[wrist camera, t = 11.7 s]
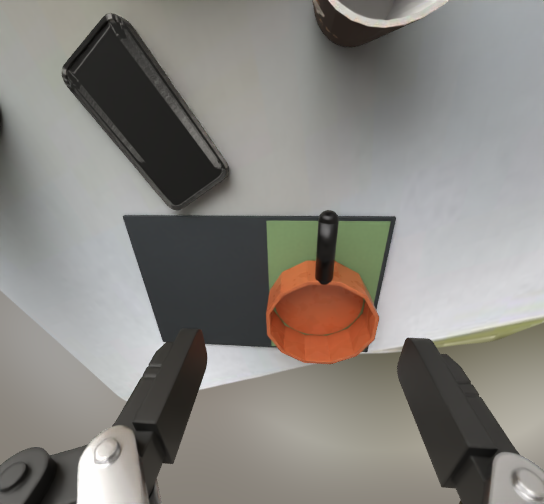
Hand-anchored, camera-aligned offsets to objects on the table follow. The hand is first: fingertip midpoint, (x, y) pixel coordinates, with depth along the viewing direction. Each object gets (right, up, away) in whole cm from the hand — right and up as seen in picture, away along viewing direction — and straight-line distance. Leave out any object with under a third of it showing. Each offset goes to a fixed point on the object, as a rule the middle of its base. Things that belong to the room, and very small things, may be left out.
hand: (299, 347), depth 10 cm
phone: (-12, +16, +14) cm, 25 cm away
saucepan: (+4, +1, +20) cm, 20 cm away
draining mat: (-3, -1, +23) cm, 23 cm away
